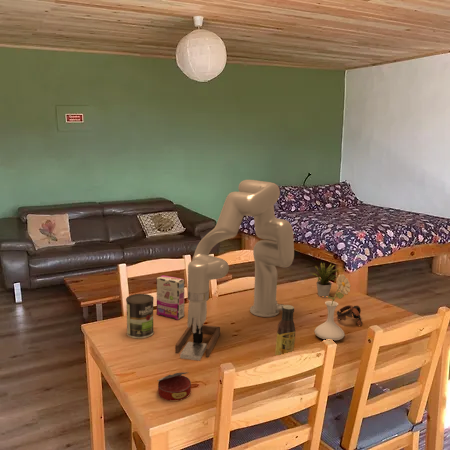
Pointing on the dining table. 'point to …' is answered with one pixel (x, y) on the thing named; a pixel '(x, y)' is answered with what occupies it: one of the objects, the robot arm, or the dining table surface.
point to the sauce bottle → (285, 331)
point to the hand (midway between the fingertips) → (197, 342)
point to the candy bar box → (170, 297)
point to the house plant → (325, 280)
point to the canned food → (174, 387)
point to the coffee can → (139, 316)
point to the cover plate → (193, 351)
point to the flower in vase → (330, 327)
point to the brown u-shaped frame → (206, 330)
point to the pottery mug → (350, 313)
